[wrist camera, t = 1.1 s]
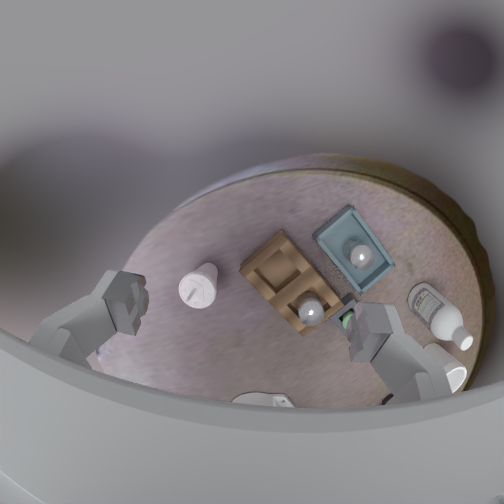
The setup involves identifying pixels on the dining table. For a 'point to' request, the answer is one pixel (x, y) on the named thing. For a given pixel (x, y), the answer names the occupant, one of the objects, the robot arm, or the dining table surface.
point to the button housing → (343, 311)
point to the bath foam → (439, 315)
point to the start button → (346, 317)
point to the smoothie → (199, 286)
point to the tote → (339, 233)
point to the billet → (359, 254)
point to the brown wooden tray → (288, 279)
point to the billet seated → (310, 308)
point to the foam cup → (448, 365)
